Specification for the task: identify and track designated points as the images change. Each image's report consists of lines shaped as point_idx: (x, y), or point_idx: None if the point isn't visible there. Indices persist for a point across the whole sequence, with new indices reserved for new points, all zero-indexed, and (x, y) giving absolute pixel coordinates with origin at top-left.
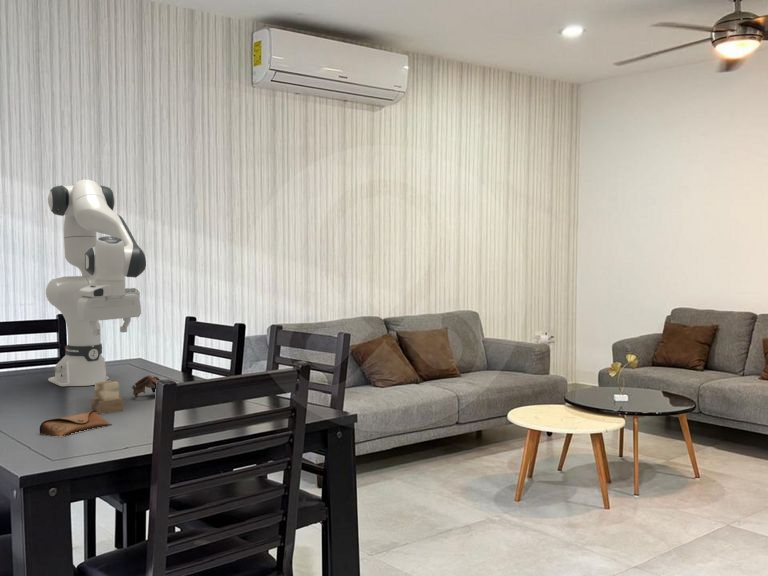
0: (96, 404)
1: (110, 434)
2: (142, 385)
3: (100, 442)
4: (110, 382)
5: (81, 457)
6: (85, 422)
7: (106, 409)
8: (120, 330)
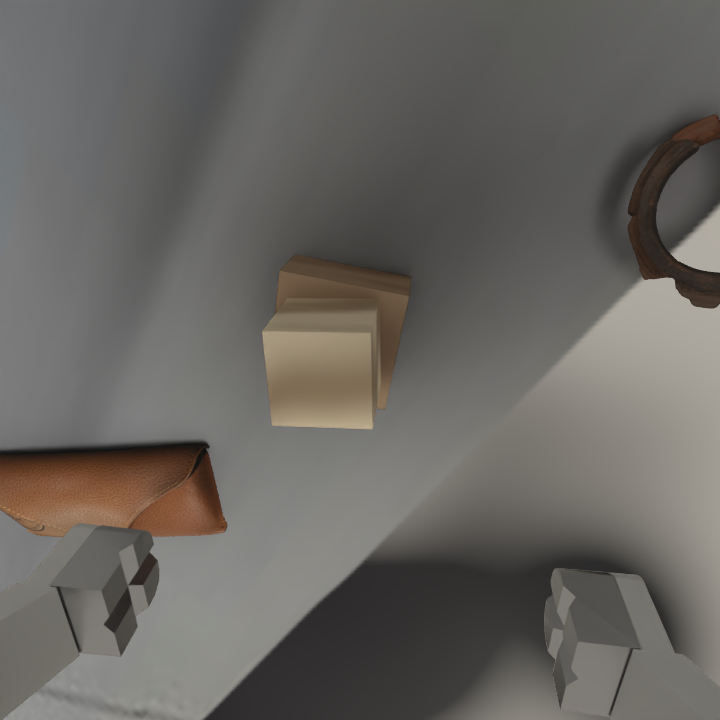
0: None
1: (166, 607)
2: (664, 269)
3: None
4: (330, 404)
5: None
6: None
7: None
8: (558, 590)
